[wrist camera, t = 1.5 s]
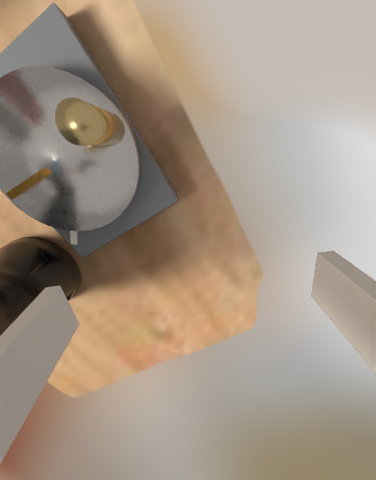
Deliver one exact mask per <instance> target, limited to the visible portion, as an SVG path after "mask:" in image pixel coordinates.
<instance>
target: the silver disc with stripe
mask: <svg viewBox="0 0 376 480" xmlns="http://www.w3.org/2000/svg"><path fill="white" fill-rule="evenodd" d="M140 175H141V159H140V152H139V148H138V143H137V141H136V138H135V135H134V133H133V131H132V129H131V126H130V124H129V123H128V121H127V119H126V118H125V116H124V115H123V113H122V112H121V111H120V110H119V108H118V107H117V106H116V105H115V104H114V103H113V102H112V101H111V100H110V99H109V98H108V97H107V96H106V95H105V94H104V93H102V92H101V91H100V90H99V89H97V88H96V87H94V86H93V85H91V84H89V83H88V82H86V81H84V80H83V79H81V78H80V77H78V76H75V75H73V74H71V73H69V72H67V71H63V70H60V69H57V68H52V67H45V66H29V67H24V68H19V69H16V70H14V71H11V72H9V73H7V74H5V75H4V76H2V77H1V78H0V189H1V191H2V192H3V193H4V194H5V196H6V197H7V198H8V199H9V200H10V201H11V202H12V203H13V204H14V205H16V206H17V207H18V208H19V209H20V210H22V211H23V212H24V213H26V214H27V215H29V216H30V217H32V218H34V219H36V220H37V221H39V222H41V223H44V224H46V225H48V226H51V227H55V228H58V229H63V230H68V231H87V230H93V229H97V228H100V227H102V226H105V225H107V224H109V223H110V222H112V221H113V220H115V219H116V218H117V217H118V216H120V215H121V214H122V212H123V211H124V210H125V209H126V208H127V207H128V205H129V204H130V203H131V201H132V200H133V198H134V196H135V194H136V192H137V189H138V185H139V182H140Z"/></svg>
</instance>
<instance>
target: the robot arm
mask: <svg viewBox="0 0 376 480" xmlns="http://www.w3.org/2000/svg"><path fill="white" fill-rule="evenodd" d="M80 281H81V276H80V271H79V268H78V266H77V264H76V262H75V261H74V259H73V258H72V257H71V256H70V255H69V254H68V253H67V252H66V251H65V250H63V249H62V248H60V247H59V246H57V245H55V244H53V243H51V242H49V241H46V240H42V239H37V238H22V239H17V240H15V241H12V242H11V243H9V244H7V245H6V246H4V247H2V248H1V249H0V463H1V462H2V460H3V458H4V456H5V455H6V453H7V451H8V449H9V448H10V446H11V444H12V442H13V441H14V439H15V437H16V435H17V433H18V432H19V430H20V428H21V426H22V424H23V423H24V421H25V419H26V417H27V416H28V414H29V412H30V410H31V409H32V407H33V405H34V403H35V402H36V400H37V398H38V396H39V394H40V393H41V391H42V389H43V387H44V386H45V384H46V382H47V380H48V379H49V377H50V375H51V373H52V372H53V370H54V368H55V366H56V364H57V363H58V361H59V359H60V357H61V356H62V354H63V352H64V350H65V349H66V347H67V345H68V343H69V342H70V340H71V338H72V336H73V334H74V333H75V331H76V329H77V327H78V326H79V322H78V320H77V318H76V316H75V314H74V312H73V310H72V308H71V306H70V304H69V302H68V301H69V300H70V299H71V298H72V297H73V295H74V294H75V292H76V291H77V290H78V288H79V285H80ZM311 297H312V298H313V299H314V300H315V302H316V303H317V304H318V305H319V306H320V308H321V309H322V310H323V311H324V312H325V314H326V315H327V316H328V317H329V318H330V320H331V321H332V322H333V323H334V324H335V326H336V327H337V328H338V329H339V330H340V331H341V333H342V334H343V335H344V336H345V338H346V339H347V340H348V341H349V342H350V344H351V345H352V346H353V347H354V348H355V350H356V351H357V352H358V353H359V354H360V355H361V357H362V358H363V359H364V360H365V361H366V363H367V364H368V365H369V366H370V367H371V369H372V370H373V371H374V372H375V374H376V281H374V280H373V279H372V278H371V277H369V276H368V275H366V274H365V273H364V272H362V271H361V270H359V269H358V268H357V267H355V266H354V265H353V264H351V263H350V262H348V261H347V260H345V259H344V258H343V257H341V256H340V255H339V254H337V253H336V252H334V251H327V252H320V253H318V254H317V260H316V267H315V273H314V279H313V286H312V292H311Z"/></svg>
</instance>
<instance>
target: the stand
mask: <svg viewBox="0 0 376 480" xmlns="http://www.w3.org/2000/svg"><path fill="white" fill-rule="evenodd" d="M29 66H45V67H52V68H57V69H60V70H63V71H67V72H69V73H71V74H73V75H75V76H78V77H80V78H81V79H83V80H84V81H86V82H88V83H89V84H91V85H93V86H94V87H96V88H97V89H99V90H100V91H101V92H102V93H104V94H105V95H106V96H107V97H108V98H109V99H110V100H111V101H112V102H113V103H114V104H115V105H116V106H117V107H118V108H119V110H120V111H121V112H122V113H123V115H124V116H125V118H126V119H127V121H128V123H129V124H130V126H131V129H132V131H133V133H134V135H135V138H136V141H137V143H138V148H139V152H140V159H141V175H140V182H139V185H138V189H137V192H136V194H135V196H134V198H133V200H132V201H131V203H130V204H129V205H128V207H127V208H126V209H125V210H124V211H123V212H122V214H121V215H120V216H118V217H117V218H116V219H115V220H113V221H112V222H110V223H109V224H107V225H105V226H102V227H100V228H97V229H93V230H87V231H68V230H63V229H58V228H55V227H53V228H54V229H55V230H56V231H57V232H58V233H59V234H60V235H61V236H62V237H63V238H64V239H65V240H66V241H67V242H68V243H69V244H70V245H71V246H72V247H73V249H74V250H75V251H76V252H77V253H78V254H79V255H80V256H81V257H82V258H83V257H85V256H87V255H88V254H90V253H92V252H93V251H95V250H97V249H98V248H100V247H102V246H103V245H105V244H107V243H108V242H110V241H112V240H113V239H115V238H117V237H118V236H120V235H122V234H123V233H125V232H127V231H128V230H130V229H132V228H133V227H135V226H137V225H138V224H140V223H142V222H143V221H145V220H147V219H148V218H150V217H152V216H154V215H155V214H157V213H159V212H160V211H162V210H164V209H165V208H167V207H169V206H170V205H172V204H174V203H175V202H177V201H178V195H177V193H176V192H175V190H174V188H173V187H172V185H171V184H170V182H169V180H168V179H167V177H166V176H165V174H164V172H163V171H162V169H161V167H160V166H159V164H158V163H157V161H156V159H155V158H154V156H153V155H152V153H151V151H150V150H149V148H148V146H147V145H146V143H145V142H144V140H143V138H142V137H141V135H140V134H139V132H138V130H137V129H136V127H135V125H134V124H133V122H132V121H131V119H130V117H129V116H128V114H127V113H126V111H125V109H124V108H123V106H122V104H121V103H120V101H119V100H118V98H117V96H116V95H115V93H114V92H113V90H112V88H111V87H110V85H109V83H108V82H107V80H106V79H105V77H104V75H103V74H102V72H101V71H100V69H99V67H98V66H97V64H96V62H95V61H94V59H93V58H92V56H91V54H90V53H89V51H88V50H87V48H86V46H85V45H84V43H83V41H82V40H81V38H80V37H79V35H78V33H77V32H76V30H75V29H74V27H73V25H72V24H71V22H70V20H69V19H68V17H67V16H66V15H65V14H64V13H63V12H62V11H61V10H60V9H59V7H58V6H57V5H56V4H55V3H54V2H53V3H52V4H51V5H50V6H49V7H48V8H47V9H46V10H45V11H44V12H43V13H42V14H41V15H40V16H39V17H38V18H37V19H36V20H35V21H34V22H33V23H32V24H30V25H29V26H28V27H27V28H26V29H25V30H24V31H23V32H22V33H21V34H20V35H19V36H18V37H17V38H16V39H15V40H14V41H13V42H12V43H11V44H10V45H9V46H8V47H7V48H6V49H4V50H3V51H2V52H1V53H0V78H1V77H2V76H4V75H5V74H7V73H9V72H11V71H14V70H16V69H19V68H24V67H29Z"/></svg>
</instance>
